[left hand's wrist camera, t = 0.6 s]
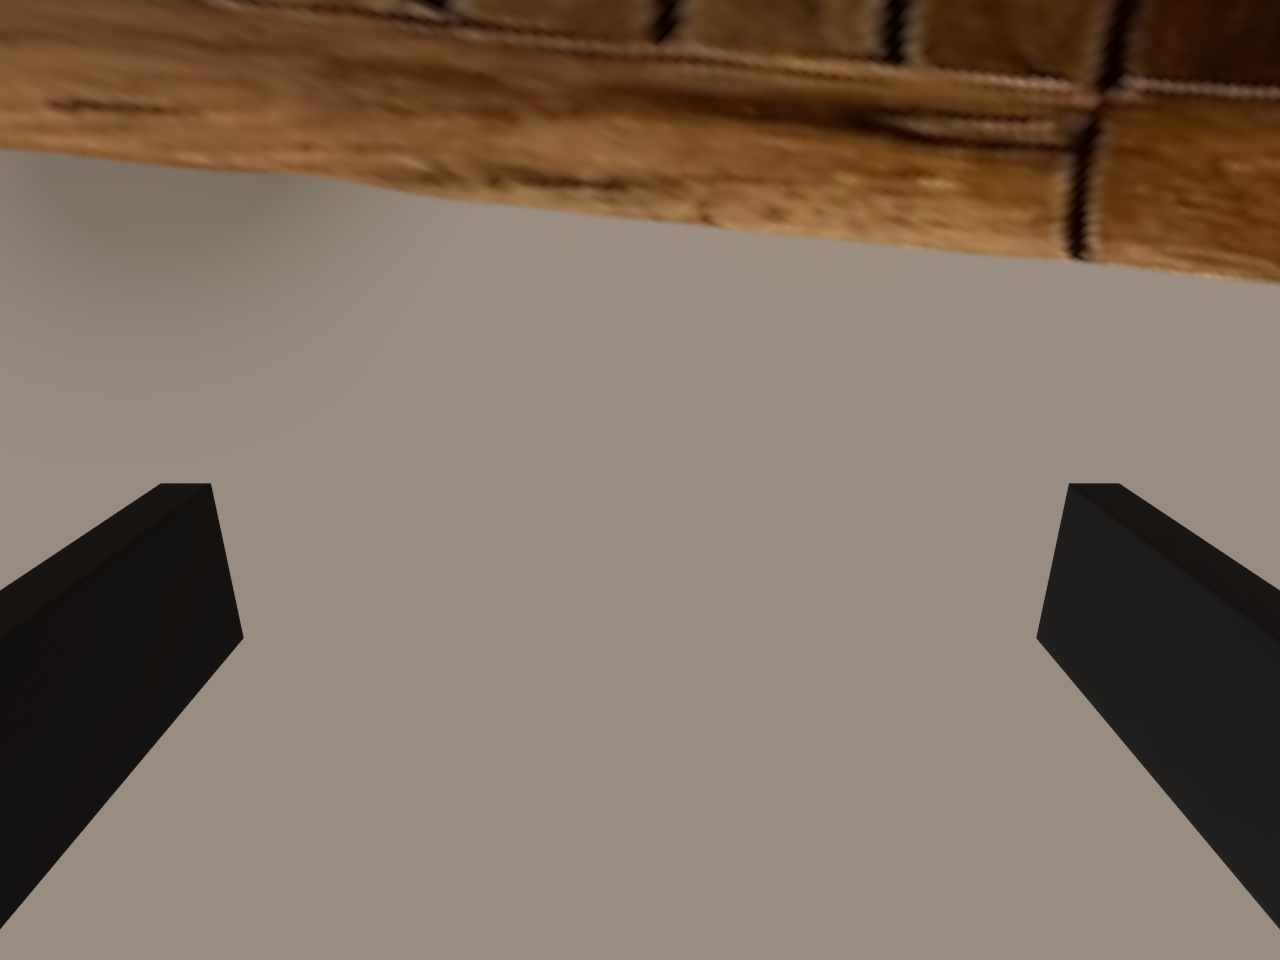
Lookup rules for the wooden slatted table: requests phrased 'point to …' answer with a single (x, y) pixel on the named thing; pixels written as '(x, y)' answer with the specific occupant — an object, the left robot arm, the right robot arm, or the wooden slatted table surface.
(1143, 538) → the left robot arm
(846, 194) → the wooden slatted table surface
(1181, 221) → the wooden slatted table surface
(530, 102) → the wooden slatted table surface
